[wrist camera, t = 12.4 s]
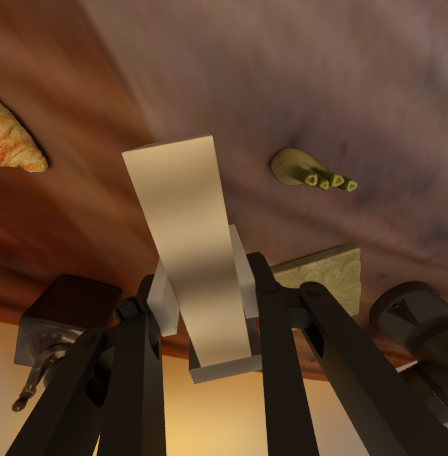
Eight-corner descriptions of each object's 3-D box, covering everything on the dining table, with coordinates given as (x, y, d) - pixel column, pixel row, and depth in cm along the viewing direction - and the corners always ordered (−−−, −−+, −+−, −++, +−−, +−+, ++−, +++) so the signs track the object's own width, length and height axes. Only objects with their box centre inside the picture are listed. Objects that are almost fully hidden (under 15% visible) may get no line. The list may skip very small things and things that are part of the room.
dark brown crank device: (113, 326, 42) (60, 452, 26) (51, 314, 39) (-53, 447, 23) (135, 268, 36) (85, 381, 20) (65, 248, 33) (-60, 363, 17)
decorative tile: (251, 271, 40) (255, 283, 37) (351, 239, 39) (365, 249, 36) (269, 330, 49) (274, 345, 45) (352, 305, 48) (362, 318, 45)
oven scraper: (251, 318, 22) (266, 368, 17) (195, 330, 21) (194, 383, 17) (222, 130, 13) (234, 131, 9) (132, 147, 13) (98, 157, 9)
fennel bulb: (309, 162, 31) (367, 181, 21) (288, 188, 33) (331, 219, 22) (283, 138, 29) (331, 145, 19) (260, 167, 31) (294, 189, 20)
